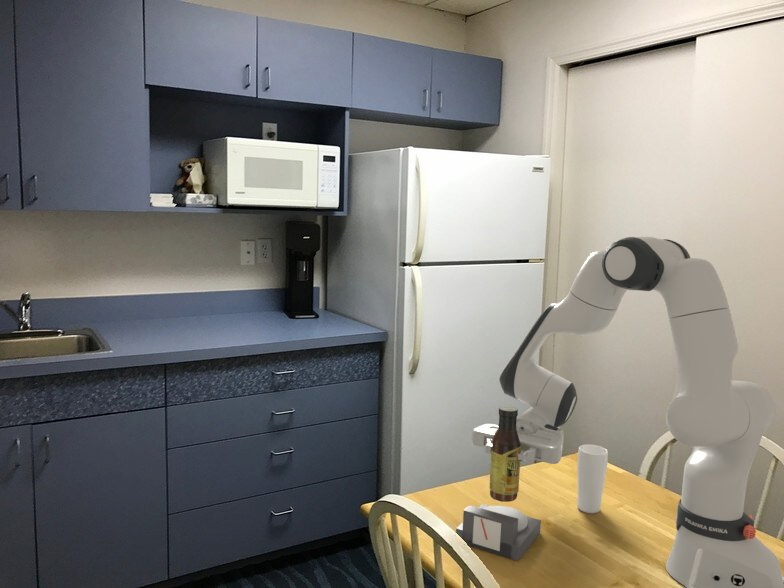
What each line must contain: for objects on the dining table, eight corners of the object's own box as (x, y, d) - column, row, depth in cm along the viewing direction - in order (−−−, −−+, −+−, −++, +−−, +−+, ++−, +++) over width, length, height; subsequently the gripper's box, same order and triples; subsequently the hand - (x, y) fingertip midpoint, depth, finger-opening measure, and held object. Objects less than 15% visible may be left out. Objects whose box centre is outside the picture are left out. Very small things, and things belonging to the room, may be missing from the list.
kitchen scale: (540, 533, 149) (542, 500, 148) (517, 561, 136) (519, 527, 135) (481, 516, 156) (483, 485, 155) (454, 542, 143) (456, 509, 142)
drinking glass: (600, 504, 164) (604, 445, 162) (606, 516, 157) (611, 455, 155) (571, 501, 165) (576, 443, 163) (576, 514, 158) (581, 453, 156)
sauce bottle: (509, 506, 142) (513, 415, 139) (483, 498, 146) (487, 409, 143) (523, 495, 147) (527, 408, 144) (498, 488, 151) (501, 402, 148)
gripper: (485, 413, 161) (460, 429, 149) (570, 431, 150) (551, 450, 139) (483, 438, 162) (459, 456, 150) (568, 458, 151) (548, 479, 140)
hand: (504, 453), depth 144 cm, fingers closed on sauce bottle, 6 cm apart
